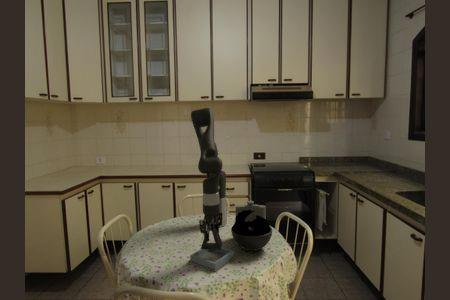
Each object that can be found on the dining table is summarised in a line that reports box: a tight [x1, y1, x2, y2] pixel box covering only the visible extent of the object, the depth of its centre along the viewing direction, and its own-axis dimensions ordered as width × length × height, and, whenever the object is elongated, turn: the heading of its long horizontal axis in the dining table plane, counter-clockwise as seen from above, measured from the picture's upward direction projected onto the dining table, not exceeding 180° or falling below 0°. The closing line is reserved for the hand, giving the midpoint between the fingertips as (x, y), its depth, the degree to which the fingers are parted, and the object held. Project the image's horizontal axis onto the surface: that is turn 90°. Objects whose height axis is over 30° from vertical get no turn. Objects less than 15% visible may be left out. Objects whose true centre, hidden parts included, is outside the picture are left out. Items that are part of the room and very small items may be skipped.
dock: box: [188, 247, 236, 273], centre depth 125 cm, size 15×15×3 cm
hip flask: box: [234, 200, 267, 222], centre depth 148 cm, size 16×4×20 cm, turn 86°
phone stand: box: [200, 222, 223, 250], centre depth 124 cm, size 9×6×12 cm, turn 84°
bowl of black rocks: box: [230, 210, 273, 251], centre depth 135 cm, size 20×20×19 cm
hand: (211, 238), depth 124 cm, fingers closed on phone stand, 6 cm apart
